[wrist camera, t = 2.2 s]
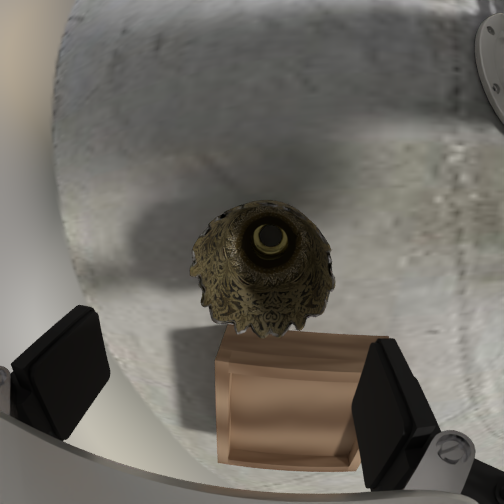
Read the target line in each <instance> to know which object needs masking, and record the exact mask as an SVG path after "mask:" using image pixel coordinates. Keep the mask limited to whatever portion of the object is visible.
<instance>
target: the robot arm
mask: <svg viewBox="0 0 504 504" xmlns="http://www.w3.org/2000/svg"><path fill="white" fill-rule="evenodd" d="M475 57H476V64H477V68H478V73H479V77H480V80H481V83H482V86H483V89H484V91H485V93H486V95H487V97H488V100H489V102H490V104H491V106H492V107H493V109H494V111H495V113H496V114H497V116H498V117H499V119H500V120H501V121H502V123H503V124H504V13H497V14H494V15H492V16H490V17H488V18H487V19H485V20H484V21H483V22H482V23H481V25H480V26H479V28H478V31H477V34H476V37H475ZM11 366H12V369H13V372H12V373H11V374H10V372H9V370H8V369H7V368H5V367H3V366H0V504H504V472H503V471H501V470H499V469H497V468H494V467H492V466H490V465H488V464H486V463H483V462H481V461H479V460H477V459H475V452H476V451H475V446H474V444H473V442H472V441H471V439H470V438H469V437H467V436H466V435H465V434H463V433H461V432H458V431H454V430H447V431H443V432H441V430H440V428H439V426H438V423H437V421H436V419H435V417H434V414H433V412H432V410H431V408H430V406H429V404H428V401H427V399H426V397H425V395H424V393H423V391H422V389H421V387H420V385H419V382H418V380H417V379H416V378H415V377H414V376H413V374H412V372H411V370H410V368H409V366H408V364H407V362H406V360H405V358H404V356H403V354H402V352H401V350H400V348H399V346H398V344H397V342H396V340H395V339H393V338H378V339H377V340H376V342H372V343H371V344H370V347H369V350H368V354H367V357H366V360H365V364H364V367H363V370H362V373H361V376H360V380H359V383H358V386H357V389H356V392H355V395H354V397H353V400H352V406H351V410H352V416H353V421H354V426H355V431H356V436H357V442H358V447H359V452H360V458H361V464H362V470H363V476H364V482H365V486H366V488H370V489H371V492H361V493H341V494H294V493H273V492H260V491H250V490H241V489H233V488H224V487H219V486H212V485H206V484H201V483H195V482H190V481H185V480H180V479H176V478H172V477H167V476H163V475H159V474H155V473H151V472H147V471H144V470H141V469H137V468H134V467H131V466H127V465H124V464H121V463H118V462H115V461H112V460H109V459H106V458H103V457H100V456H97V455H95V454H92V453H89V452H87V451H84V450H82V449H79V448H77V447H74V446H72V445H70V444H67V443H65V442H63V440H66V439H68V438H69V436H70V435H71V433H72V432H73V430H74V429H75V427H76V426H77V425H78V423H79V421H80V420H81V419H82V417H83V416H84V414H85V413H86V411H87V410H88V408H89V407H90V406H91V404H92V403H93V401H94V400H95V398H96V397H97V395H98V394H99V393H100V391H101V390H102V388H103V387H104V386H105V384H106V383H107V381H108V380H109V378H110V368H109V364H108V360H107V356H106V351H105V346H104V341H103V337H102V332H101V326H100V321H99V316H98V314H97V313H96V312H95V310H94V308H92V307H88V306H83V305H78V306H76V307H75V308H74V309H72V310H71V311H70V312H69V313H68V314H66V315H65V316H64V317H63V318H62V319H61V320H60V321H58V322H57V323H56V324H55V325H54V326H52V327H51V328H50V329H49V330H48V331H47V332H46V333H44V334H43V335H42V336H41V337H40V338H39V339H38V340H36V341H35V342H34V343H33V344H32V345H31V346H30V347H29V348H28V349H26V350H25V351H24V352H23V353H22V354H21V355H20V356H19V357H18V358H17V359H15V360H14V362H12V363H11Z"/></svg>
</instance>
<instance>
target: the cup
mask: <svg viewBox="0 0 504 504" xmlns="http://www.w3.org/2000/svg"><path fill="white" fill-rule="evenodd" d="M208 225H209V226H208V228H207V229H206V230H205V231H204V232H203V233H202V234H201V235H200V236H199V238H198V239H197V241H196V243H195V244H194V246H193V249H192V261H193V263H192V264H191V266H190V276H191V277H197V276H198V279H199V284H198V285H199V287H200V288H201V289H202V299H201V305H202V306H203V307H207V306H209V311H210V315H211V319H212V320H213V322H215V323H217V324H227V323H231V324H234V330H235V332H236V334H242V333H244V332H245V331H246V330H247V329H248V328H249V327H251V329H252V332H253V333H255V334H256V335H257V336H258V337H259V338H261V339H263V338H266V337H267V336H268V334H269V335H270V334H272V335H273V336H275V337H277V338H280V337H282V336H283V335H285V333H286V332H287V331H288V329H289V328H290V326H291V324H293V325H295V327H296V330H298V331H300V330H302V329H303V328H304V326H305V322H306V319H307V318H309V317H311V316H313V317H317V316H319V315H321V314H322V313H323V312H324V310H325V308H326V305H327V302H328V297H329V293H330V291H333V290H334V288H335V277H334V276H333V273H332V260H331V256H330V252H331V248H330V246H329V244H328V242H327V240H326V239H325V237H324V236H323V235H322V233H321V232H320V230H319V229H318V228H317V226H316V225H315V224H314V223H313V222H312V221H310V220H309V219H308V218H307V217H306V216H305V215H304V214H303V213H301V212H300V211H299V210H297V209H295V208H294V207H292V206H290V205H288V204H285V203H282V202H278V201H273V200H260V201H253V202H249V203H246V204H243V205H240V206H237V207H234V208H232V209H230V210H228V211H226V212H224V214H222V215H220V216H217V217H216V218H215V219H214V220H213V221H211V222H210V223H209V224H208ZM268 225H273V226H276V227H278V228H279V229H280V231H281V233H282V239H281V241H280V243H279V244H277V245H276V246H272V247H270V246H266V245H264V244H263V243H262V242H261V240H260V231H261V230H262V229H263V228H264V227H265V226H268Z"/></svg>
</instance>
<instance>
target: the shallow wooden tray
mask: <svg viewBox="0 0 504 504" xmlns="http://www.w3.org/2000/svg"><path fill="white" fill-rule="evenodd" d="M378 338H389V336H367V335H346V334H329V333H315V332H302V331H290V330H288V331H287V332H286V333H285V335H283V336H282V337H280V338H277V337H275V336H273V335H272V334H270V335H269V334H268V336H267V337H266V338H263V339H261V338H259V337H258V336H257V335H256V334H255V333H253V332H252V329H251V327H249V328H248V329H247V330H246V331H245V332H244V333H242V334H236V332H235V330H234V325H231V324H228V325H227V328H226V331H225V334H224V336H223V339H222V342H221V345H220V348H219V350H218V353H217V356H216V359H215V395H216V429H217V454H218V463H223V464H229V465H236V466H244V467H252V468H262V469H273V470H286V471H308V472H346V471H356V470H357V468H358V467H359V465H360V463H361V458H360V452H359V447H358V442H357V436H356V431H355V426H354V421H353V416H352V410H351V406H352V400H353V397H354V395H355V392H356V389H357V386H358V383H359V380H360V376H361V373H362V370H363V367H364V364H365V360H366V357H367V354H368V350H369V347H370V344H371V343H372V342H376V340H377V339H378Z"/></svg>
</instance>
